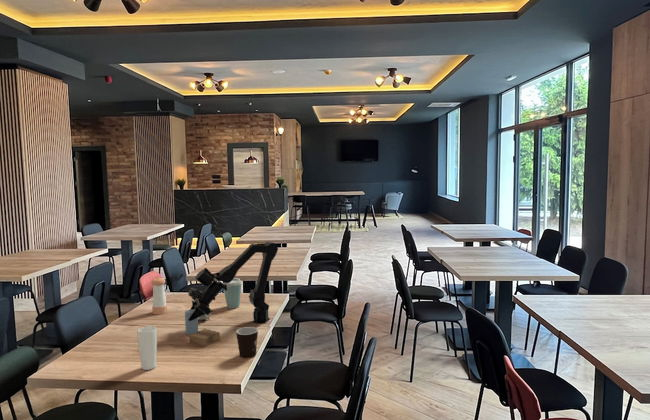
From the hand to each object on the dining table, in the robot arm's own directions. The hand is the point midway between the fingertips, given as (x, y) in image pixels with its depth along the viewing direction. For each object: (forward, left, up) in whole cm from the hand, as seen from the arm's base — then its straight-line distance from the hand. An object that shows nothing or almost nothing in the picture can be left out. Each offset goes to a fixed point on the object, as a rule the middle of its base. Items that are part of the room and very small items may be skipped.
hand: (188, 318), depth 203 cm
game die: (+3, -18, -7) cm, 19 cm away
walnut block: (-13, +8, -7) cm, 17 cm away
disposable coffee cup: (-1, -41, -7) cm, 42 cm away
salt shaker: (+33, -24, -7) cm, 41 cm away
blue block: (-1, -1, -7) cm, 7 cm away
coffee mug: (-38, +15, -7) cm, 42 cm away
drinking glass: (-6, +36, -7) cm, 37 cm away
